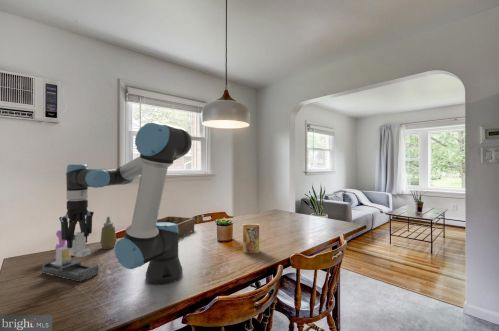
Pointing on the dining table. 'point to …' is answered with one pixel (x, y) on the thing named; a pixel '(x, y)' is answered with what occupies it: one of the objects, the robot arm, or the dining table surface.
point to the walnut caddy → (180, 224)
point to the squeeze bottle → (108, 235)
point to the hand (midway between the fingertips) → (77, 252)
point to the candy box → (250, 238)
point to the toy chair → (60, 241)
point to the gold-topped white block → (80, 245)
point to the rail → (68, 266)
